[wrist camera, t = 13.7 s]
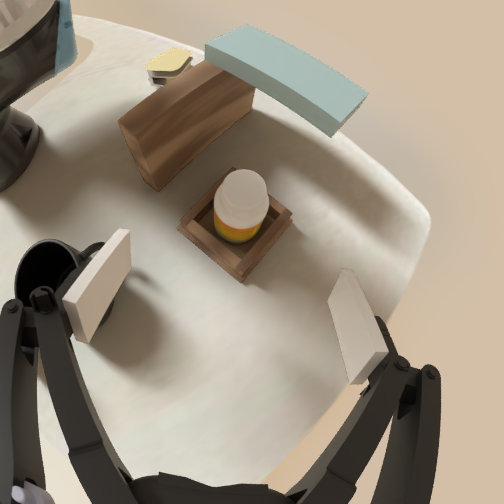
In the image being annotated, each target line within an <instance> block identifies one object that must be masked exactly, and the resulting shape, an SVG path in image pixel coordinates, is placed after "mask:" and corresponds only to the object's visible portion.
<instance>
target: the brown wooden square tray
mask: <svg viewBox="0 0 504 504" xmlns="http://www.w3.org/2000/svg"><path fill="white" fill-rule="evenodd" d="M233 171H236V169H235V168H234V167H232V168H231V169H230V170H229V171H228V172H227V173H226V174H225V175H224V176H223V177H222V178H221V179H220V180H219V181H218V182H217V183H216V184H215V185H214V186H213V187H212V188H211V189H210V190H209V191H208V192H207V193H206V194H205V195H204V196H203V197H202V198H201V199H200V200H199V201H198V202H197V203H196V204H195V205H194V206H193V207H192V208H191V209H190V210H189V211H188V213H187V214H186V215H185V216H184V217H183V218H182V219H181V220H180V221H181V224H180V225H179V226H178V227H177V229H178V230H179V231H180V232H181V233H182V234H183V235H184V236H186V237H187V238H188V239H189V240H190V241H191V242H193V243H194V244H195V245H196V246H197V247H198V248H200V249H201V250H202V251H203V252H204V253H205V254H207V255H208V256H209V257H210V258H211V259H213V260H214V261H215V262H216V263H217V264H218V265H220V266H221V267H222V268H223V269H224V270H226V271H227V272H228V273H229V274H230V275H232V276H233V277H234V278H235V279H236V280H238V281H239V282H240V283H242V281H243V280H244V279H245V278H246V277H247V275H248V274H249V273H250V272H251V271H252V269H253V268H254V267H255V266H256V265H257V263H258V262H259V261H260V260H261V259H262V257H263V256H264V255H265V254H266V252H267V251H268V250H269V249H270V248H271V246H272V245H273V244H274V243H275V241H276V240H277V239H278V238H279V237H280V235H281V234H282V233H283V232H284V230H285V229H286V228H287V227H288V226H289V224H290V223H291V222H292V221H293V220H292V219H290V216H291V215H292V214H293V213H291V212H290V211H289V210H288V209H287V208H285V207H284V206H283V205H282V204H280V203H279V202H278V201H277V200H275V199H274V198H273V197H271V196H270V195H269V194H268V193H267V194H268V197H269V208H268V211H267V214H266V216H265V218H264V220H263V222H262V224H261V226H260V228H259V230H258V232H257V234H256V236H255V237H254V238H253V239H252V240H251V241H249V242H247V243H245V244H241V245H234V244H229V243H227V242H225V241H224V240H222V239H221V238H220V237H219V236H218V234H217V232H216V230H215V227H214V197H215V194H216V191H217V189H218V188H219V186H220V185H221V184H222V183H223V181H224V179H225V178H226V177H227V175H229V174H230V173H231V172H233Z"/></svg>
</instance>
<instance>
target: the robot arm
mask: <svg viewBox="0 0 504 504" xmlns="http://www.w3.org/2000/svg"><path fill="white" fill-rule="evenodd" d="M77 55H78V53H77V47H76V40H75V34H74V27H73V20H72V12H71V4H70V0H0V191H3V190H4V189H6V188H7V187H9V186H10V185H11V184H12V183H13V182H15V180H16V179H17V178H18V177H19V176H20V175H21V174H22V172H23V171H24V170H25V168H26V167H27V165H28V164H29V162H30V160H31V159H32V157H33V155H34V152H35V150H36V147H37V144H38V140H39V128H38V126H37V124H36V123H35V122H34V120H33V119H32V118H31V117H30V116H28V115H26V114H24V113H22V112H20V111H18V110H16V109H14V108H12V107H11V106H10V104H12V103H13V102H15V101H16V100H17V99H19V98H20V97H22V96H23V95H25V94H26V93H28V92H29V91H31V90H32V89H34V88H36V87H37V86H39V85H40V84H42V83H44V82H45V81H47V80H49V79H50V78H52V77H55V76H56V75H57V74H58V73H59V72H61V71H63V70H64V69H66V68H68V67H69V66H71V65H72V64H73V63H74V62H75V60H76V58H77ZM130 269H131V252H130V230H125V229H120V228H119V229H118V230H117V231H116V232H115V233H114V234H113V235H112V237H111V238H110V239H109V240H108V241H107V242H106V243H105V245H104V246H103V247H102V248H101V249H100V251H99V252H98V253H97V254H96V255H95V257H94V258H93V259H92V260H91V262H90V263H89V264H88V265H87V267H86V268H84V267H80V266H79V267H78V268H76V269H75V270H73V271H72V272H71V273H70V274H69V276H68V277H67V278H66V279H65V281H64V282H63V283H62V284H61V286H60V287H59V288H58V290H57V291H56V292H55V294H54V292H53V289H52V288H50V287H48V286H40V287H38V288H36V289H34V290H33V291H32V292H31V294H30V297H29V299H30V302H31V305H32V307H24V306H23V304H22V302H21V301H20V300H19V299H11V300H9V301H7V302H6V303H5V304H4V306H3V308H2V311H1V315H0V504H55V502H54V500H53V498H52V497H51V495H50V494H49V493H48V492H47V491H46V484H45V474H44V467H43V461H42V455H41V447H40V438H39V428H38V413H37V363H38V348H40V353H41V358H42V363H43V368H44V372H45V376H46V380H47V384H48V388H49V392H50V395H51V399H52V402H53V406H54V409H55V412H56V415H57V418H58V421H59V424H60V427H61V429H62V432H63V435H64V437H65V440H66V442H67V445H68V448H69V453H68V455H69V459H70V461H71V464H72V466H73V468H74V470H75V472H76V474H77V476H78V479H79V481H80V483H81V484H82V486H83V488H84V490H85V492H86V494H87V496H88V497H89V499H90V501H91V502H92V504H348V503H349V501H350V500H351V498H352V497H353V495H354V493H355V492H356V489H357V488H356V486H355V483H356V482H357V480H358V478H359V477H360V475H361V474H362V472H363V470H364V469H365V467H366V465H367V464H368V462H369V460H370V458H371V457H372V455H373V453H374V451H375V450H376V448H377V446H378V444H379V442H380V440H381V438H382V436H383V434H384V432H385V430H386V428H387V426H388V424H389V422H390V420H391V418H392V416H393V419H392V425H391V430H390V435H389V440H388V444H387V449H386V453H385V457H384V461H383V465H382V469H381V472H380V476H379V479H378V482H377V486H376V489H375V492H374V495H373V498H372V501H371V504H430V499H431V494H432V489H433V484H434V478H435V472H436V465H437V457H438V447H439V436H440V420H441V377H440V373H439V371H438V370H437V369H436V367H434V366H432V365H429V364H427V365H425V366H424V367H423V368H422V369H421V370H420V369H417V368H413V367H411V366H410V363H409V362H408V361H407V360H406V359H405V358H404V357H402V356H400V355H398V353H397V351H396V348H395V346H394V343H393V341H392V338H391V337H390V334H389V332H388V329H387V327H386V325H385V323H384V322H383V320H382V319H381V318H380V317H379V316H374V315H373V312H372V310H371V308H370V305H369V303H368V301H367V299H366V296H365V294H364V292H363V290H362V288H361V285H360V283H359V281H358V279H357V277H356V275H355V273H354V271H353V270H351V269H346V268H342V270H341V272H340V275H339V277H338V279H337V281H336V284H335V286H334V288H333V290H332V292H331V295H330V297H329V299H328V305H329V308H330V312H331V315H332V319H333V322H334V326H335V329H336V333H337V337H338V340H339V344H340V348H341V352H342V356H343V360H344V364H345V368H346V372H347V376H348V380H349V384H363V382H364V381H365V380H366V379H367V378H368V381H369V385H368V386H367V387H366V388H365V389H364V390H363V391H362V392H361V393H360V395H361V397H360V399H359V400H358V402H357V403H356V405H355V407H354V409H353V410H352V411H351V413H350V415H349V416H348V418H347V419H346V421H345V422H344V424H343V425H342V427H341V428H340V430H339V431H338V432H337V434H336V435H335V437H334V438H333V440H332V441H331V442H330V444H329V445H328V446H327V448H326V449H325V450H324V452H323V453H322V454H321V456H320V457H319V458H318V460H317V461H316V462H315V463H314V465H313V466H312V467H311V468H310V470H309V471H308V472H307V473H306V474H305V476H304V477H303V478H302V479H301V480H300V481H299V482H298V483H297V484H296V485H294V486H293V487H292V488H291V489H290V490H289V491H288V492H287V493H286V494H285V495H284V494H282V493H279V492H277V491H275V490H272V489H269V488H268V484H265V485H264V484H236V485H229V486H221V487H211V486H208V485H205V484H202V483H199V482H197V481H194V480H192V479H189V478H187V477H182V476H177V475H172V474H167V473H162V472H159V475H152V476H145V477H141V478H138V479H135V480H133V478H132V477H131V475H130V473H129V472H128V470H127V469H126V467H125V466H124V464H123V463H122V461H121V460H120V458H119V456H118V455H117V453H116V451H115V449H114V447H113V445H112V443H111V441H110V440H109V438H108V436H107V434H106V431H105V429H104V427H103V425H102V423H101V421H100V419H99V417H98V414H97V412H96V410H95V407H94V405H93V403H92V400H91V398H90V395H89V393H88V390H87V388H86V385H85V382H84V379H83V377H82V374H81V371H80V368H79V365H78V362H77V359H76V356H75V353H74V349H73V346H72V342H71V340H70V337H71V335H72V334H73V333H74V336H75V339H76V340H77V341H80V342H83V343H86V344H89V342H90V340H91V338H92V336H93V334H94V332H95V331H96V329H97V327H98V325H99V323H100V321H101V319H102V317H103V316H104V314H105V312H106V310H107V308H108V307H109V305H110V303H111V301H112V299H113V298H114V296H115V294H116V293H117V291H118V289H119V287H120V286H121V284H122V282H123V281H124V279H125V277H126V276H127V274H128V272H129V271H130Z"/></svg>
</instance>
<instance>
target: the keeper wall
mask: <svg viewBox="0 0 504 504" xmlns="http://www.w3.org/2000/svg"><path fill="white" fill-rule="evenodd" d="M255 88H256V87H254V86H252V85H251V84H249V83H247V82H245V81H244V80H242V79H240V78H238V77H236V76H235V75H233V74H231V73H229V72H227V71H225V70H223V69H221V68H219V67H218V66H216V65H214V64H212V63H210V62H208V61H205V60H204V61H202V62H200V63H199V64H197V65H195V66H194V67H192V68H190V69H189V70H187V71H186V72H184V73H182V74H181V75H179V76H178V77H176V78H175V79H173V80H172V81H170V82H169V83H167V84H166V85H164V86H163V87H161V88H160V89H158V90H157V91H156V92H154V93H153V94H151V95H150V96H149V97H147V98H146V99H145V100H143V101H142V102H141V103H139V104H138V105H137V106H135V107H134V108H133V109H131V110H130V111H129V112H128V113H126V114H125V115H124V116H123V117H122V118H120V119H119V120H118V123H119V126H120V128H121V130H122V133H123V135H124V137H125V140H126V142H127V144H128V147H129V149H130V151H131V153H132V155H133V158H134V160H135V162H136V164H137V166H138V169H139V171H140V173H141V175H142V177H143V179H144V180H145V181H146V182H147V183H148V184H149V185H151V186H152V187H153V188H154V189H155V190H156V191H158V192H159V191H160V190H161V189H162V188H163V187H164V186H165V185H166V184H167V183H168V182H169V181H170V180H171V179H172V178H174V177H175V176H176V175H177V174H178V173H179V172H180V171H181V170H182V169H183V168H184V167H185V166H186V165H187V164H188V163H189V162H191V161H192V160H193V159H194V158H195V157H196V156H197V155H198V154H199V153H200V152H202V151H203V150H204V149H205V148H206V147H207V146H208V145H210V144H211V143H212V142H213V141H214V140H215V139H216V138H218V137H219V136H220V135H221V134H222V133H224V132H225V131H226V130H227V129H228V128H230V127H231V126H232V125H233V124H235V123H236V122H237V121H238V120H239V119H241V118H242V117H243V116H245V115H246V114H247V113H248V112H250V111H251V108H252V103H253V98H254V93H255Z"/></svg>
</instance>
